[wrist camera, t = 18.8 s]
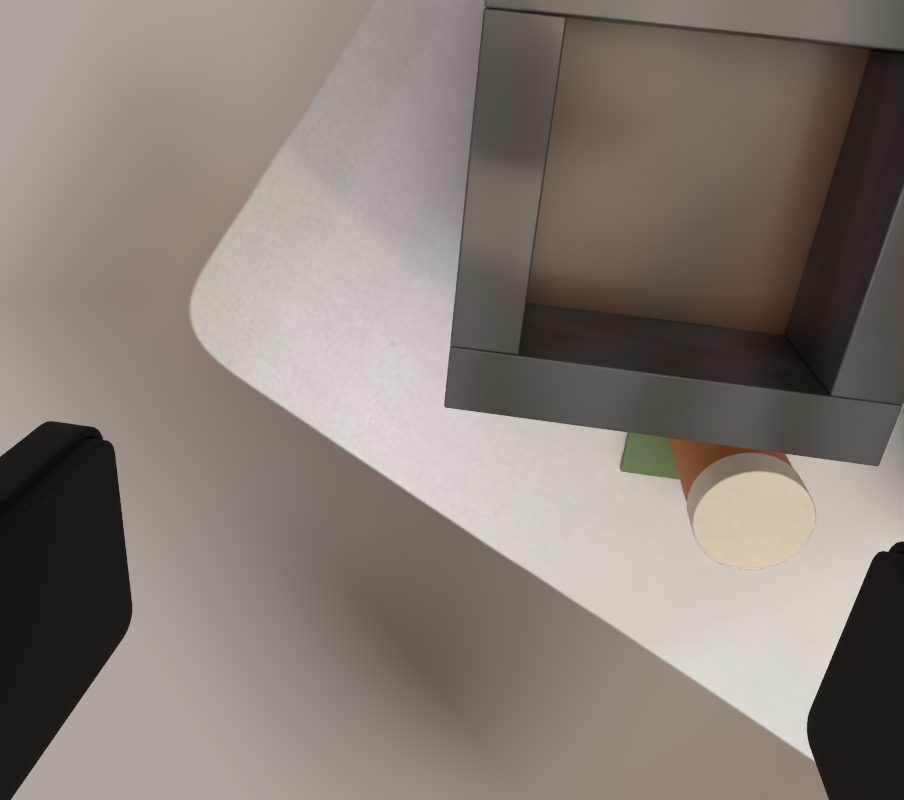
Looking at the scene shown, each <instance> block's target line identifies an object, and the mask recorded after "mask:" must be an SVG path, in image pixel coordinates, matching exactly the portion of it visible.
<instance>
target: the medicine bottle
mask: <svg viewBox="0 0 904 800" xmlns="http://www.w3.org/2000/svg"><path fill="white" fill-rule="evenodd" d="M668 439H669V442H670V446H671V449H672V453H673V456H674V460H675V463H676V467H677V470H678V474H679V477H680V481H681V484H682V488H683V492H684V495H685V499H686V502H687V512H688V516H689V520H690V523H691V527H692V530H693V534H694V537H695V540H696V542H697V544H698V545H699V547H700V548H701V549H702V550H703V552H704V553H705V554H706V555H708V556H709V557H710V558H711V559H713V560H715V561H716V562H718V563H720V564H723V565H725V566H728V567H732V568H737V569H745V570H754V569H762V568H767V567H771V566H774V565H777V564H779V563H781V562H784V561H786V560H787V559H789V558H791V557H792V556H793V555H795V554H796V553H797V552H798V551H800V550H801V549H802V548H803V546H804V545H805V544H806V543H807V541H808V540H809V538H810V536H811V534H812V532H813V529H814V526H815V520H816V511H815V506H814V503H813V500H812V498H811V496H810V494H809V492H808V491H807V489H806V487H805V485H804V483H803V482H802V480H801V478H800V476H799V475H798V473H797V472H796V471H795V470H794V469H793V467H792V466H791V464H790V462H789V460H788V458H787V456H786V454H785V453H777V452H770V451H762V450H755V449H748V448H740V447H733V446H726V445H718V444H711V443H704V442H696V441H689V440H682V439H674V438H668Z"/></svg>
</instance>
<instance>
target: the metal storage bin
mask: <svg viewBox="0 0 904 800" xmlns="http://www.w3.org/2000/svg"><path fill="white" fill-rule="evenodd" d="M484 5H485V7H486V8H485V9H484V14H483V24H482V34H481V44H480V54H479V64H478V73H477V83H476V93H475V103H474V113H473V123H472V133H471V143H470V153H469V163H468V173H467V183H466V193H465V203H464V213H463V223H462V233H461V243H460V253H459V263H458V273H457V283H456V293H455V303H454V313H453V323H452V333H451V343H450V344H451V346H450V353H449V363H448V373H447V383H446V393H445V403H444V406H445V407H446V408H454V409H461V410H468V411H476V412H483V413H491V414H498V415H505V416H513V417H520V418H527V419H535V420H542V421H549V422H557V423H564V424H571V425H579V426H586V427H593V428H601V429H608V430H615V431H623V432H630V433H638V434H645V435H652V436H660V437H667V438H674V439H682V440H689V441H696V442H704V443H711V444H718V445H726V446H733V447H740V448H748V449H755V450H762V451H770V452H777V453H785V454H792V455H799V456H807V457H814V458H821V459H829V460H836V461H843V462H851V463H858V464H865V465H873V466H878V465H879V464H880V461H881V458H882V456H883V453H884V451H885V448H886V446H887V443H888V441H889V438H890V436H891V433H892V430H893V428H894V425H895V423H896V420H897V418H898V415H899V413H900V410H901V408H902V406H901V405H902V404H903V402H904V0H485V4H484Z"/></svg>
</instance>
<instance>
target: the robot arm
mask: <svg viewBox="0 0 904 800" xmlns="http://www.w3.org/2000/svg"><path fill="white" fill-rule="evenodd" d="M131 617H132V600H131V590H130V582H129V573H128V565H127V555H126V547H125V538H124V529H123V520H122V511H121V502H120V493H119V485H118V476H117V467H116V459H115V451H114V447H113V445H112V444H111V443H110V442H109V441H106V440H103V438H102V435H101V433H100V432H99V430H98V429H96V428H94V427H89V426H81V425H75V424H68V423H61V422H53V421H52V422H46V423H44V424H42V425H40V426H39V427H38V428H36V429H35V430H34V431H33V432H31V433H30V434H29V435H28V436H26V437H25V438H24V439H23V440H21V441H20V442H19V443H17V444H16V445H15V446H14V447H12V448H11V449H10V450H8V451H7V452H6V453H5V454H3V455H2V456H1V457H0V800H11V799H12V797H13V795H14V794H15V793H16V791H17V790H18V788H19V787H20V786H21V784H22V783H23V781H24V780H25V778H26V777H27V776H28V774H29V773H30V771H31V770H32V768H33V767H34V766H35V764H36V762H37V761H38V760H39V758H40V757H41V755H42V754H43V752H44V751H45V749H46V748H47V747H48V745H49V744H50V743H51V741H52V740H53V738H54V737H55V735H56V734H57V732H58V731H59V729H60V728H61V727H62V725H63V724H64V722H65V721H66V719H67V718H68V717H69V715H70V714H71V712H72V711H73V709H74V708H75V707H76V705H77V703H78V702H79V701H80V699H81V698H82V696H83V695H84V694H85V692H86V691H87V689H88V688H89V686H90V685H91V683H92V682H93V681H94V679H95V678H96V676H97V675H98V673H99V672H100V671H101V669H102V668H103V666H104V665H105V663H106V662H107V661H108V659H109V658H110V656H111V655H112V653H113V652H114V651H115V649H116V647H117V646H118V645H119V643H120V642H121V640H122V639H123V637H124V636H125V634H126V632H127V630H128V627H129V624H130V621H131ZM807 735H808V741H809V745H810V748H811V751H812V754H813V757H814V759H815V762H816V765H817V767H818V770H819V773H820V776H821V779H822V782H823V784H824V787H825V789H826V793H827V796H828V798H829V800H904V542H899V543H896V544H895V545H894V546H892V547H891V548H890V550H889V552H885V551H882V552H879V553H878V554H877V555H875V557H874V558H873V560H872V562H871V565H870V567H869V569H868V572H867V574H866V577H865V579H864V581H863V584H862V586H861V589H860V591H859V593H858V596H857V598H856V601H855V603H854V605H853V608H852V610H851V613H850V615H849V618H848V620H847V622H846V625H845V627H844V630H843V632H842V634H841V637H840V639H839V642H838V644H837V646H836V649H835V651H834V654H833V656H832V659H831V661H830V663H829V666H828V668H827V671H826V673H825V675H824V678H823V680H822V683H821V685H820V687H819V690H818V692H817V695H816V697H815V699H814V702H813V704H812V707H811V709H810V712H809V715H808V721H807Z"/></svg>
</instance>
